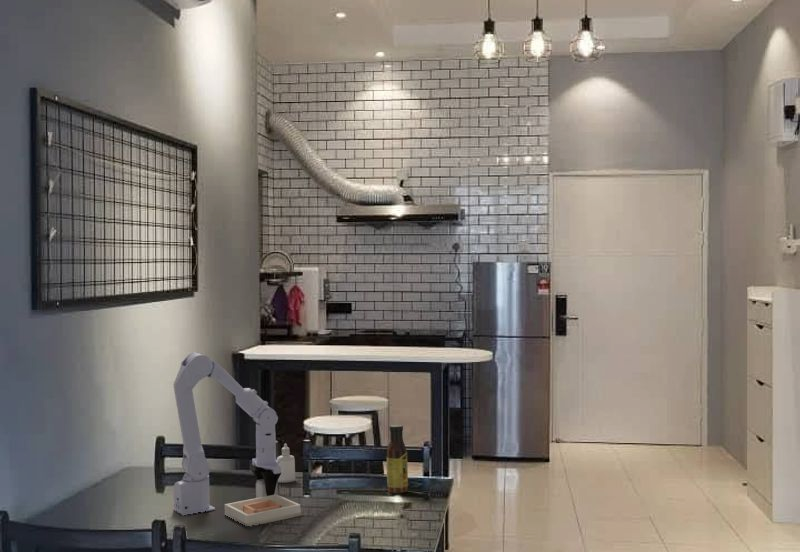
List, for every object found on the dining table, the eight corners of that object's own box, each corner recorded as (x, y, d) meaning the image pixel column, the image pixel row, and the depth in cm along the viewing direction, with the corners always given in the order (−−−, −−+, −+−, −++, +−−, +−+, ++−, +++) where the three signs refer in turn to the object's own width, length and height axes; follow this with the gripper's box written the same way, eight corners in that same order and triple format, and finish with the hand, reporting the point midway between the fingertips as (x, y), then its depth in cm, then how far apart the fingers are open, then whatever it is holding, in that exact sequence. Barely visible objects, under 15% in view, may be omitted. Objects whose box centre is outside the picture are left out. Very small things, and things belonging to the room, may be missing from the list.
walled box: (247, 527, 219) (246, 515, 219) (224, 515, 231) (224, 504, 231) (300, 515, 229) (300, 504, 229) (276, 504, 240) (276, 494, 240)
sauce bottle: (407, 494, 248) (406, 427, 248) (386, 494, 249) (385, 427, 248) (408, 488, 255) (406, 423, 255) (387, 488, 255) (386, 423, 255)
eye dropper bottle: (291, 483, 264) (290, 445, 264) (275, 482, 265) (274, 444, 265) (297, 480, 268) (296, 442, 268) (280, 479, 270) (280, 442, 269)
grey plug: (262, 503, 242) (261, 482, 242) (256, 500, 245) (255, 479, 245) (277, 500, 245) (277, 479, 245) (271, 497, 248) (271, 477, 248)
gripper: (290, 449, 241) (290, 496, 241) (266, 441, 253) (267, 486, 253) (267, 453, 237) (268, 500, 237) (245, 444, 249) (246, 490, 249)
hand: (266, 493), depth 245 cm, fingers closed on grey plug, 4 cm apart
